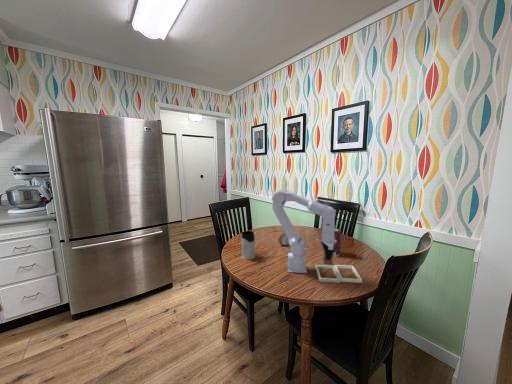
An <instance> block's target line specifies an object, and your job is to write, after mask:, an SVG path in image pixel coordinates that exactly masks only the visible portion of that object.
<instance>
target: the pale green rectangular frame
mask: <svg viewBox="0 0 512 384" xmlns="http://www.w3.org/2000/svg"><path fill="white" fill-rule="evenodd" d="M314 266H315V271H316V274H317V277H318V281H319V282H322V283H338V284H340V283H341V281H340V278H339V275H338V273H337V271H336V269H335V267H334V265H326V264H315V265H314ZM319 269H323V270H325V269H326V270H332V272H333V273H334V275H335V278H332V277H330V278H329V277H321V273H320V270H319Z"/></svg>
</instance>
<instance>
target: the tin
mask: <svg viewBox="0 0 512 384" xmlns="http://www.w3.org/2000/svg"><path fill="white" fill-rule="evenodd" d="M278 243H279V244H280V245H282V246H289V238H288V237H287V235H286V233H285V232H282V233H281V234H280V235H279V236H278Z"/></svg>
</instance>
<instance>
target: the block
mask: <svg viewBox="0 0 512 384" xmlns="http://www.w3.org/2000/svg"><path fill="white" fill-rule="evenodd" d="M322 251H323V253H322V263H323V265H328V266H334V255H333V254H332V258H331V260H326V257H325V251H324V248H323V247H322Z"/></svg>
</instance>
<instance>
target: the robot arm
mask: <svg viewBox="0 0 512 384" xmlns="http://www.w3.org/2000/svg"><path fill="white" fill-rule="evenodd" d="M271 201H272V211H273V212H274V214H275V217H276V219H277V221H279V224H280V225H281V227H282V229H283V231H284V233H286V235H287V237H288V238H289V244H288V246H289V248H290V252H288V253H287V264H286V265H287V272H288V273H301V274H307V273H308V271H307V267H306V255H307V254H306V251H305V249H306V247H307V242H306V240H305V239H303V238H302V236H301V235H299V234H298V232H297V230H296V229H295V226H294V225H293V223H292V222H291V219H290V218H289V216H288V214H287V213H286V211H285V209H284V206H285V203H286V202H294V203H297V204H299V205H302V206H304V207H306V208H307V210H308V211H309V212H311V213H313V214H315V215H318V216H319V217H321V218H322V221H321V222H322V227H321V229H322V230H321V241H320V243H321V246H322V249H323V248H324V251H325V257H326V260H331V258H332V254H333V252H334V250H335V247H333V245H334V243H335V242H337V241H336V240H334V230H335V217H336V210H335V208H333V207H332V206H328V205H327V204H322V203H321V202H320V201H319V200H317V199H316V200H314V199H313V200H308V199H307V198H304V197H303V196H301V195H298V194H297V193H295V192H292V190H288V189H285V188H282V189H279V190H277V191H275V192H274V193H273V195H272V197H271Z"/></svg>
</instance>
